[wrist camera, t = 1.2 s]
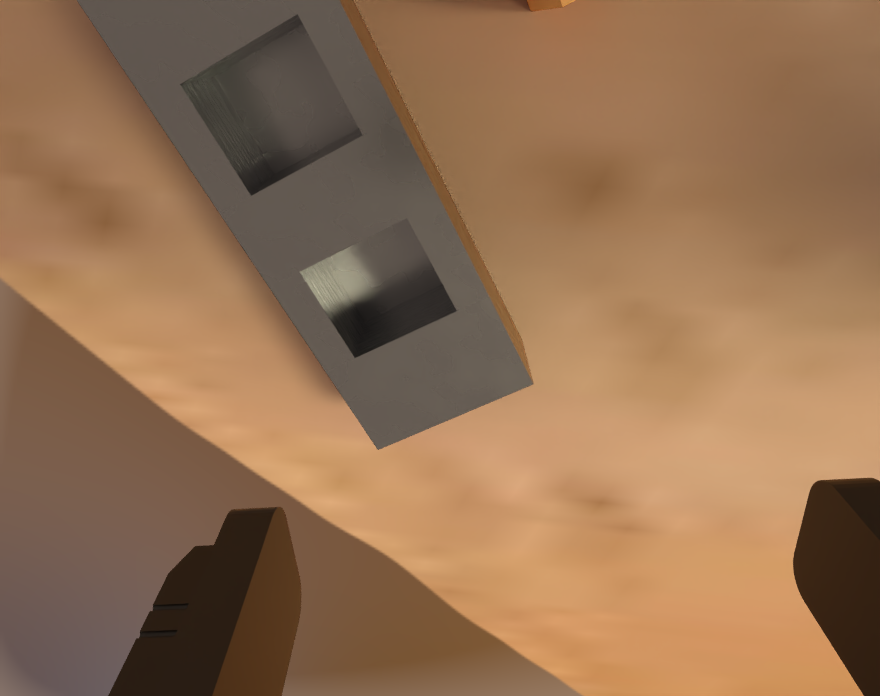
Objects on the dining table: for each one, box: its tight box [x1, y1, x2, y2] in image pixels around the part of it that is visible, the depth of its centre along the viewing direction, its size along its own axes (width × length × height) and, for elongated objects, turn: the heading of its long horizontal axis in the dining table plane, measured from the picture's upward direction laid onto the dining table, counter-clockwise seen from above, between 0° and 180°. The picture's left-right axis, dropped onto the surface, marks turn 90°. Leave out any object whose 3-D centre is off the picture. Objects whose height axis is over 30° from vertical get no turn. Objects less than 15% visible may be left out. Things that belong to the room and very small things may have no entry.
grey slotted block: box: [77, 0, 533, 450], centre depth 27 cm, size 8×22×4 cm, turn 27°
